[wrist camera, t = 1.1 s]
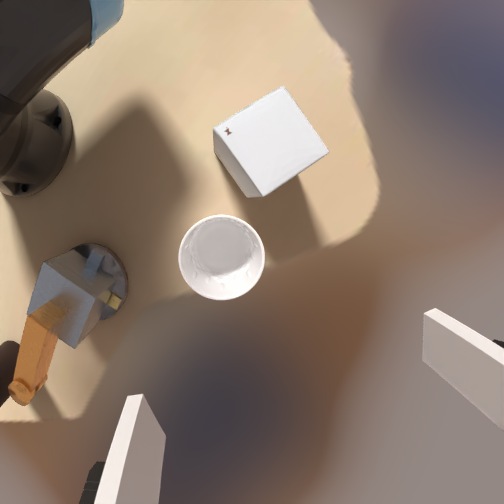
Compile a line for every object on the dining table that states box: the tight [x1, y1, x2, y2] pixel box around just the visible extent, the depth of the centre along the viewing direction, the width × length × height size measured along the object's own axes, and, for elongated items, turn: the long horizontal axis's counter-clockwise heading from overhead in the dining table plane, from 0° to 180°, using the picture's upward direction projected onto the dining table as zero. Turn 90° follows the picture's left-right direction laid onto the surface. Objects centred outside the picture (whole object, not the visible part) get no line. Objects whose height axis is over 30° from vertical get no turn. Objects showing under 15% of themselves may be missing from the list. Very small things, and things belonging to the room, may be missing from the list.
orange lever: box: [8, 248, 118, 406], centre depth 28 cm, size 7×17×13 cm, turn 148°
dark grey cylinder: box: [70, 243, 128, 320], centre depth 32 cm, size 10×10×9 cm
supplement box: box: [213, 86, 329, 198], centre depth 30 cm, size 7×7×13 cm
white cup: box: [178, 215, 265, 300], centre depth 33 cm, size 8×8×10 cm
